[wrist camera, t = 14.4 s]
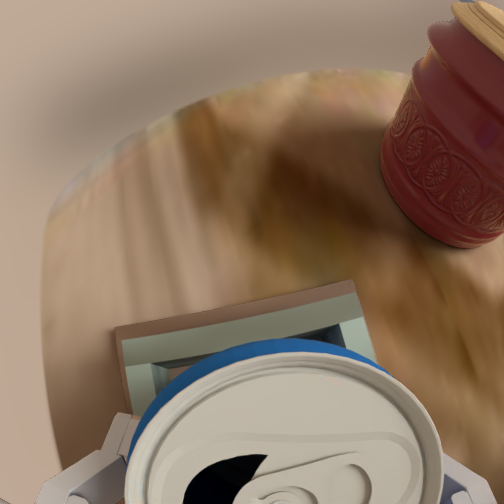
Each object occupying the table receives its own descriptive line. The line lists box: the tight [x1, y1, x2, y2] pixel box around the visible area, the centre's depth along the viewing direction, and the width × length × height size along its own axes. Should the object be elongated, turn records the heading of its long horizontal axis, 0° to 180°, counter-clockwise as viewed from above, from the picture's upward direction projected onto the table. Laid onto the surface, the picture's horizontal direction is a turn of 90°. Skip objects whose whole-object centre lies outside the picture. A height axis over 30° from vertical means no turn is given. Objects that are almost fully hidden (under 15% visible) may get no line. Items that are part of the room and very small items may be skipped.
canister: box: [380, 1, 504, 248], centre depth 15 cm, size 13×13×18 cm
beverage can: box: [124, 338, 444, 504], centre depth 9 cm, size 6×6×12 cm
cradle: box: [115, 279, 379, 417], centre depth 14 cm, size 14×14×4 cm
